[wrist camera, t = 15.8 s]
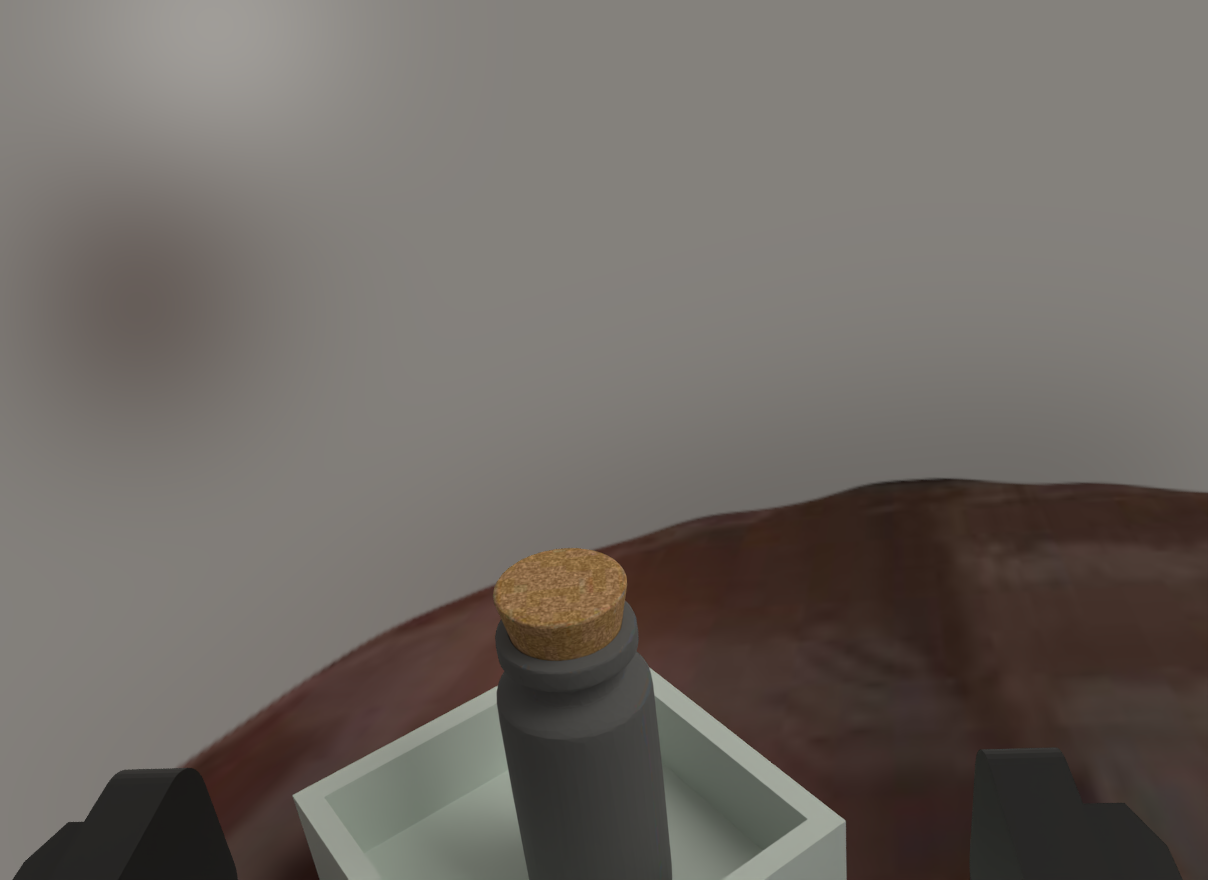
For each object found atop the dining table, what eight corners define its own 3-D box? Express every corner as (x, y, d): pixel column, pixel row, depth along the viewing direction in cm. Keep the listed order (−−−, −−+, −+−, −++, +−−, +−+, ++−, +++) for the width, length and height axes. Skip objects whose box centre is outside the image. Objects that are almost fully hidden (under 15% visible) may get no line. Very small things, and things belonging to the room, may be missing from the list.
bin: (612, 709, 57) (601, 630, 55) (846, 910, 46) (845, 820, 43) (319, 878, 50) (292, 795, 48) (507, 1173, 38) (484, 1081, 36)
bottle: (558, 819, 50) (511, 532, 43) (687, 839, 48) (660, 544, 41) (511, 930, 45) (449, 626, 38) (653, 957, 43) (616, 644, 36)
